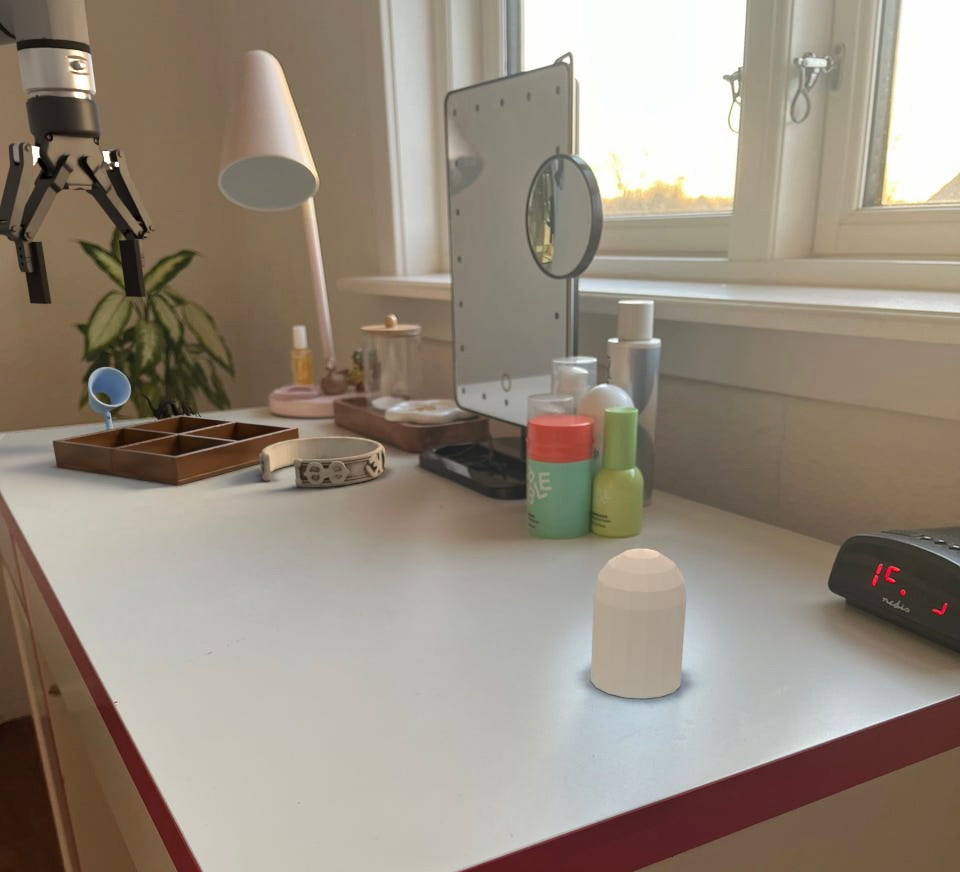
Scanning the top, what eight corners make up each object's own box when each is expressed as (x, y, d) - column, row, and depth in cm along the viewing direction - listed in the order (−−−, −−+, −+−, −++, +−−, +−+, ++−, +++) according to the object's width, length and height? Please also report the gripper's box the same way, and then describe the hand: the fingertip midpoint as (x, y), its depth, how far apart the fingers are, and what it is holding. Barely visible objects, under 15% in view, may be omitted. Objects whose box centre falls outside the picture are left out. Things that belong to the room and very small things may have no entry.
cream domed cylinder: (625, 655, 64) (631, 532, 61) (698, 678, 61) (708, 549, 58) (572, 680, 61) (575, 551, 58) (646, 707, 57) (653, 570, 54)
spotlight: (141, 449, 127) (125, 441, 133) (130, 367, 124) (113, 361, 129) (100, 454, 125) (85, 445, 130) (88, 370, 121) (73, 364, 126)
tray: (56, 466, 119) (52, 440, 117) (183, 438, 134) (180, 415, 133) (178, 485, 109) (175, 457, 108) (300, 452, 125) (298, 427, 124)
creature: (180, 428, 148) (134, 423, 141) (182, 389, 147) (136, 383, 140) (218, 433, 143) (172, 429, 137) (220, 393, 142) (174, 387, 136)
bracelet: (395, 483, 109) (394, 455, 108) (264, 491, 106) (262, 463, 105) (375, 457, 121) (374, 432, 120) (258, 464, 118) (255, 438, 117)
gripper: (-21, 83, 101) (17, 307, 109) (171, 105, 121) (191, 294, 129) (-66, 89, 105) (-26, 305, 113) (127, 110, 125) (150, 293, 133)
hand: (90, 300), depth 121 cm, fingers open, 13 cm apart
